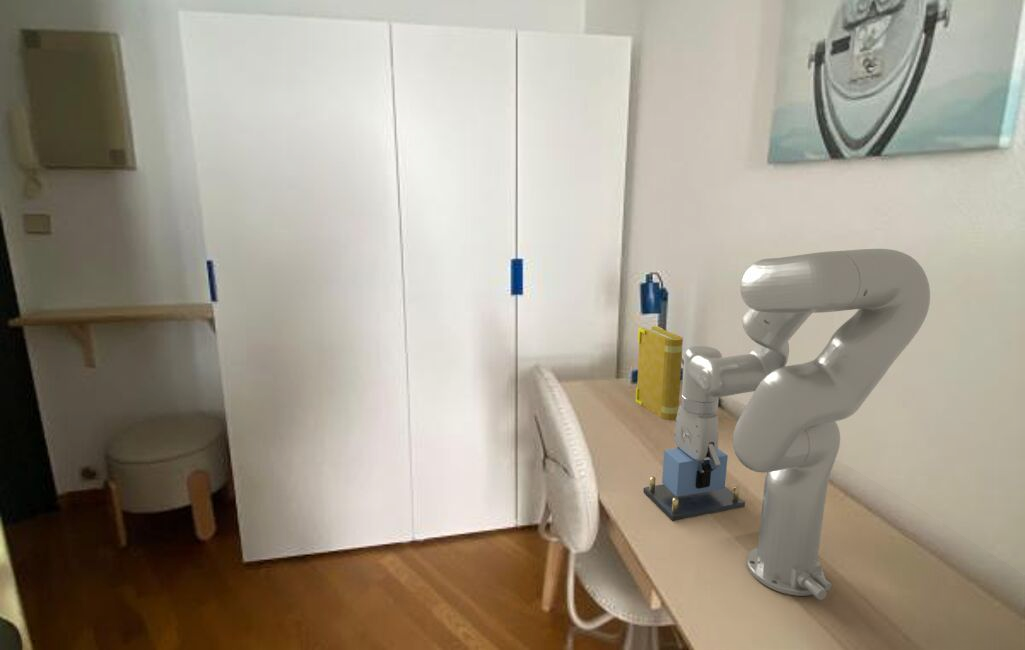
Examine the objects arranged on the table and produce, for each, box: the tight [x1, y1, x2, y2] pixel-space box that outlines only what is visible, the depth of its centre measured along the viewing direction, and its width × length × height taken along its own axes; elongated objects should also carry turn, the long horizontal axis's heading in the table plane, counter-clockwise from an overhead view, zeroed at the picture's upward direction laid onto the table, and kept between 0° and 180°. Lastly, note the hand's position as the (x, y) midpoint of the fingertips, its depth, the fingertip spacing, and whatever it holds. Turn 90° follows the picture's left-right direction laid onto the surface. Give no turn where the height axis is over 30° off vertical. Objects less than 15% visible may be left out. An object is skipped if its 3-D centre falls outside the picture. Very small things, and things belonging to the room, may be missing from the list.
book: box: [634, 326, 684, 421], centre depth 171 cm, size 17×7×25 cm, turn 17°
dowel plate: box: [643, 476, 746, 522], centre depth 123 cm, size 12×18×4 cm, turn 106°
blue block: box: [661, 447, 728, 497], centre depth 122 cm, size 12×6×8 cm, turn 105°
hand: (693, 478), depth 122 cm, fingers closed on blue block, 6 cm apart
